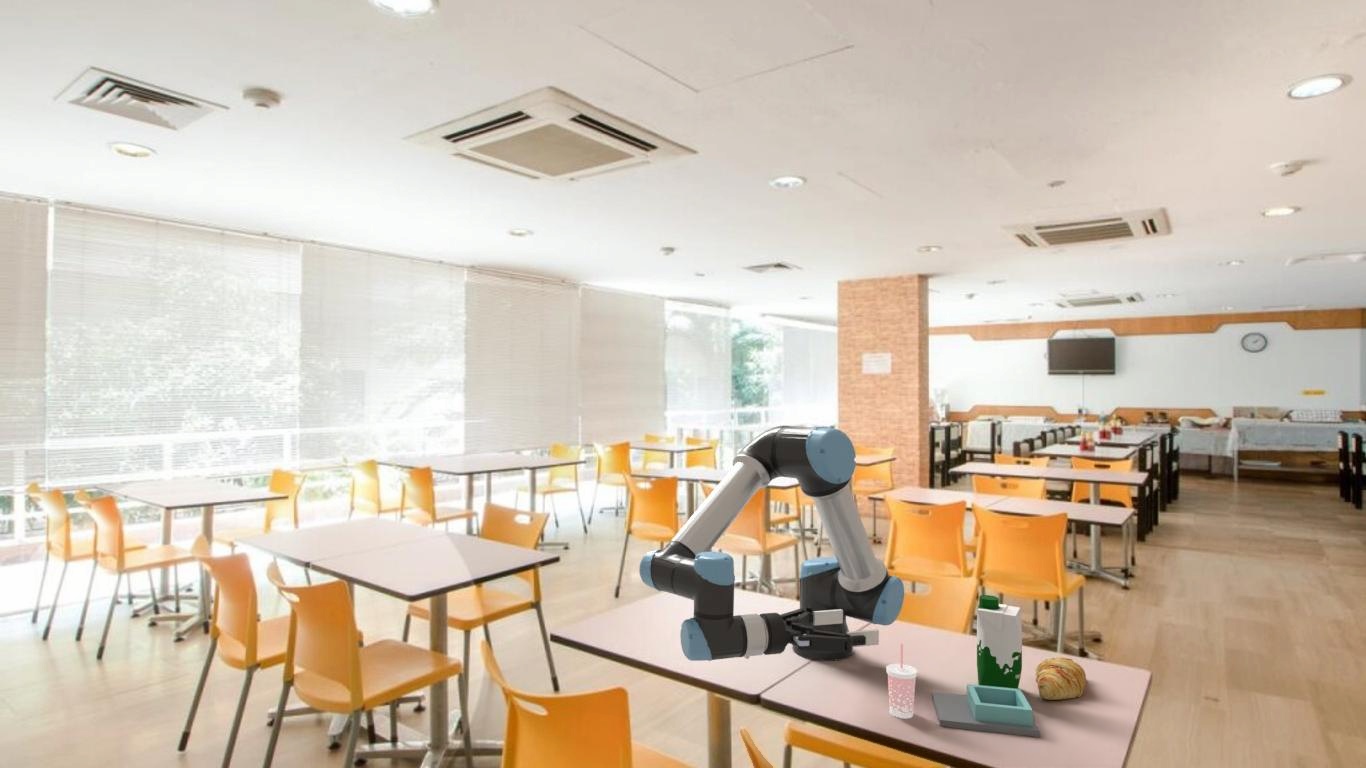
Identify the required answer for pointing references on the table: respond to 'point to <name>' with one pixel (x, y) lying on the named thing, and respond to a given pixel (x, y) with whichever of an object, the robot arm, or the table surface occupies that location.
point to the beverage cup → (901, 688)
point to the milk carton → (998, 643)
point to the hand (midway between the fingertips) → (859, 626)
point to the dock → (986, 710)
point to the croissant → (1060, 679)
